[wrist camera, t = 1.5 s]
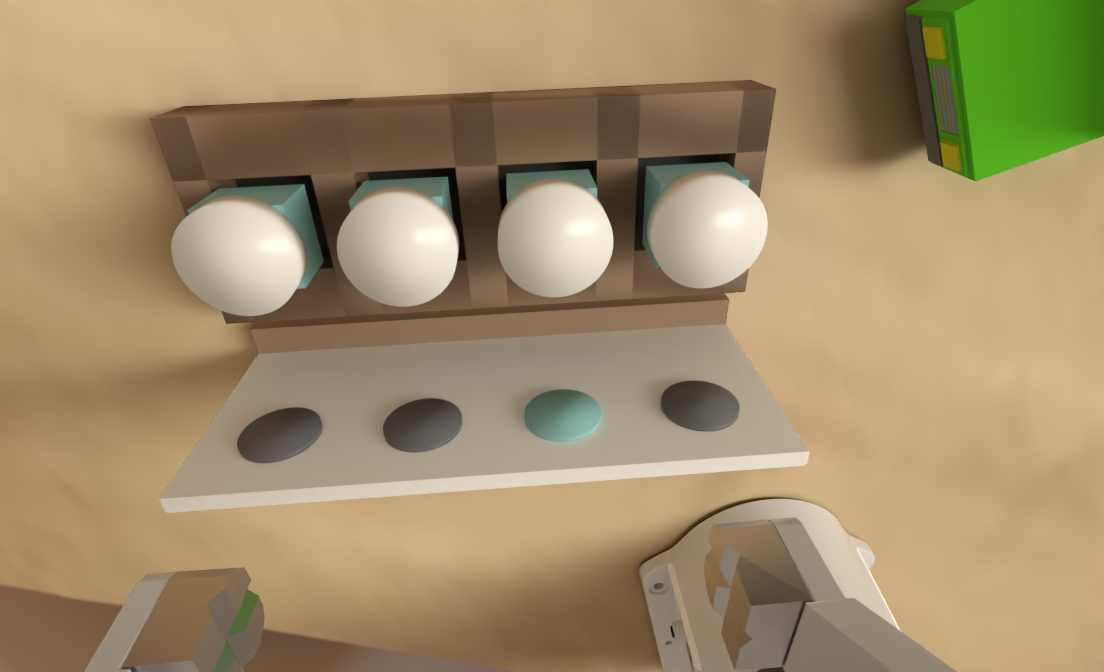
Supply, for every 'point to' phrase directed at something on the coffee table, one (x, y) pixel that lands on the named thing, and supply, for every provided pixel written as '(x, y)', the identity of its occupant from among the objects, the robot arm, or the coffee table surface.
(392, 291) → the button
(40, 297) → the coffee table surface
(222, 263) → the button
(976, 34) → the toy car
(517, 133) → the walnut button board
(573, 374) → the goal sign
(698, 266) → the button
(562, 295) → the button
